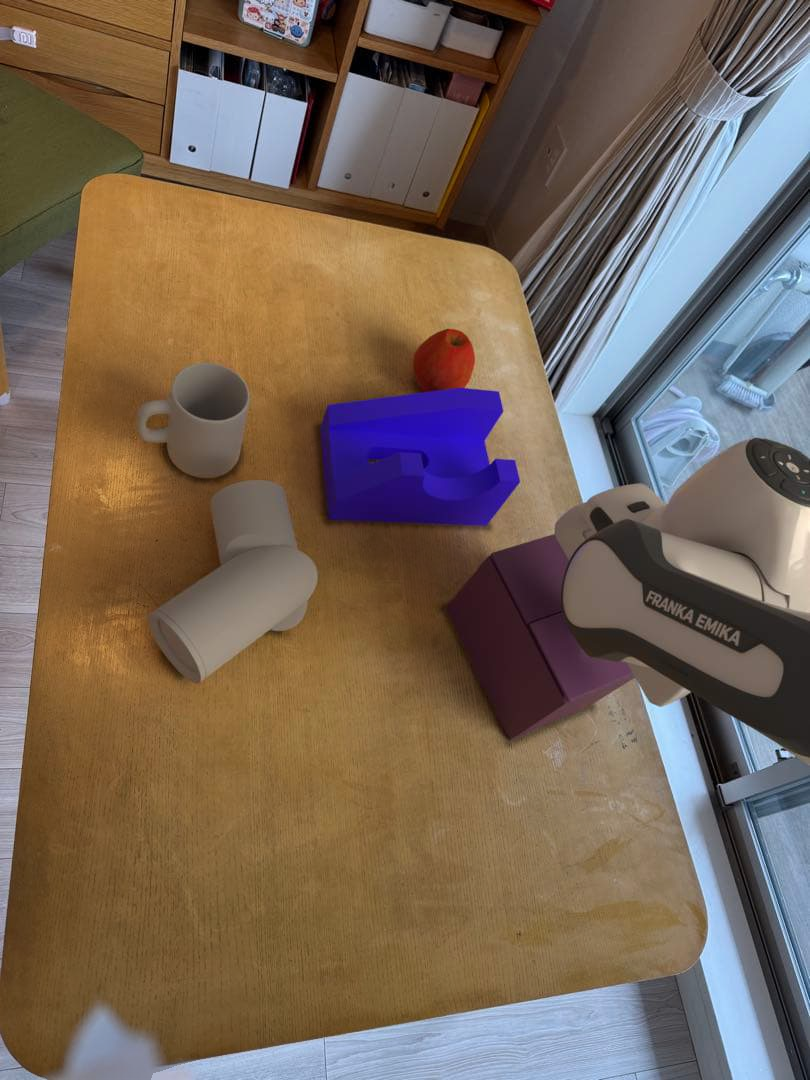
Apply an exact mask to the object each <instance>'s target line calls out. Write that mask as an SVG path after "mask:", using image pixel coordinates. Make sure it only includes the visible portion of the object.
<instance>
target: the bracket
mask: <svg viewBox="0 0 810 1080" xmlns="http://www.w3.org/2000/svg"><path fill="white" fill-rule="evenodd" d="M503 413H504V406H503V403H502V399H501V395H500V391H497V390H489V389H479V388H468V387H465V388H454V389H447V390H439V391H431V392H424V391H423V392H417V393H416V392H415V393H409V394H401V395H393V396H387V397H379V398H371V399H363V400H362V399H361V400H355V401H347V402H339V403H332V404H327V406H326V409H325V412H324V415H323V417H322V421H321V424H320V427H319V435H320V445H321V456H322V467H323V477H324V486H325V497H326V507H327V517H328V521H349V522H351V521H352V522H375V523H376V522H380V523H402V524H403V523H406V524H427V525H429V524H430V525H431V524H432V525H456V526H457V525H458V526H482V527H483V526H484V527H486V526H488V525H489V524H490V522H491V521H492V520H493V519H494V517H495V516H496V514H497V513H498V512H499V511H500V509H501V508H502V506H503V505H504V504H505V502H506V501H507V500H508V499H509V497H510V496H511V495H512V494H513V492H514V491H515V490H516V488H517V487H518V486H519V485H520V483H521V478H520V475H519V471H518V466H517V462H516V460H515V459H507V458H494V459H493V461H492V462H491V463H490V460H489V455H488V449H487V445H486V440H487V438H488V437H489V435H490V433H491V432H492V430H493V429H494V428H495V426H496V424H497V422H499V419H500V417H501V416H502V415H503ZM369 460H376V461H374V462H370V461H369Z"/></svg>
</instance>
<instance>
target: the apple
mask: <svg viewBox="0 0 810 1080" xmlns="http://www.w3.org/2000/svg"><path fill="white" fill-rule="evenodd" d="M412 362H413V363H412V367H413V371H414V375H415V378H416V381H417V383H418V385H419V387H420V388H421V390H422V391H423V393H424V392H431V391H439V390H447V389H454V388H466V386H467V385H468V383H469V382H470V380H471V378H472V374H473V373H474V372H473V371H474V367H475V363H476V355H475V350H474V346H473V343H472V341H471V340H470V338H469V337H468V336H467V335H466V334H465V333H464V332H463V331H461V330H458V329H455V328H445V329H443V330H440V331H436V333H433V334H432V335H430V336H428V338H427V339H425V340H424V341H423V342H422V343H420V345H419V347H417V349H416V352H415V353H414V355H413V361H412Z"/></svg>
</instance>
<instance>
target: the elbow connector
mask: <svg viewBox="0 0 810 1080" xmlns="http://www.w3.org/2000/svg"><path fill="white" fill-rule="evenodd" d="M209 509H210V514H211V519H212V524H213V531H214V536H215V540H216V542H215V543H216V547H217V552H218V558H219V563H220V564H219V565H220V566H219V567H217V568H216V569H214V570H213V571H211V572H210V573H208V574H207V575H205V576H204V577H202V578H201V579H199V580H198V581H196V582H195V583H193V584H191V585H190V586H189V587H187V588H185V589H184V590H183V591H181V592H179V593H178V594H177V595H175V596H174V597H172V598H171V599H169V600H168V601H166V602H165V603H163V604H161V605H160V606H158V607H157V608H155V610H153V611H151V612H150V613H148V614H147V617H146V621H147V625H148V628H149V630H150V633H151V635H152V637H153V638H154V641H155V643H156V644H157V646H158V647H159V649H160V650H161V652H162V653H163V654H164V656H165V657H166V659H167V660H168V662H170V664H171V665H172V666H173V667H174V668H175V669H176V670H177V672H179V673H180V674H181V675H182V676H183V677H185V678H186V679H187V680H188V681H190V682H192V683H194V684H200V683H201V682H202V681H203V680H205V679H207V678H208V677H209V676H210V675H212V674H213V673H215V672H216V671H218V669H220V668H221V667H223V666H224V665H225V664H227V663H228V662H229V661H231V660H232V659H233V658H234V657H236V656H237V655H238V654H239V653H241V652H242V651H244V650H245V649H246V648H248V647H249V646H250V645H252V644H253V643H254V642H256V641H257V640H258V639H259V638H261V637H262V636H263V635H265V634H266V633H267V632H268V631H274V632H282V631H289V630H291V629H293V628H295V627H297V625H299V624H300V622H302V620H303V619H304V616H305V614H306V612H307V610H308V609H307V608H308V602H309V599H310V598H311V596H312V595H313V593H314V592H315V590H316V587H317V585H318V580H319V579H318V570H317V566H316V564H315V562H314V561H313V560H312V558H311V557H310V556H309V555H307V554H306V553H305V552H303V551H301V550H300V549H299V547H298V543H297V540H296V535H295V531H294V525H293V522H292V518H291V517H292V516H291V513H290V508H289V504H288V499H287V495H286V492H285V489H284V488H283V487H282V486H281V485H280V484H278V483H276V482H273V481H271V480H264V479H249V480H243V481H238V482H236V483H232V484H230V485H227V486H225V487H223V488H221V489H220V490H219V491H217V492H216V493H214V495H213V496H212V498H211V499H210V502H209Z"/></svg>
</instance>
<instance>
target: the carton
mask: <svg viewBox="0 0 810 1080" xmlns="http://www.w3.org/2000/svg"><path fill="white" fill-rule="evenodd" d="M568 563H569V560H568V558H567V556H566V555H565V553H564V551H563V549H562V548H561V546H560V544H559V542H558V541H557V539H556V537H555V533H553V534H550V535H547V536H543V537H539V538H536V539H533V540H530V541H527V542H523V543H520V544H516V545H513V546H510V547H507V548H503V549H501V550H500V549H499V550H497V551H493V552H491V553H490V555H488V556H486V558H484V560H483V561H482V562H481V564H480V565H479V566H478V567H477V569H476V570H475V571H474V572H473V573H472V574H471V576H470V577H469V578H468V579H467V581H466V582H465V583H464V584H463V586H462V587H461V588H460V589H459V590H458V592H457V593H456V594H455V595H454V597H453V598H452V599H451V600H450V602H449V603H448V604H447V605H446V607H444V610H445V611H446V613H447V615H448V617H449V619H450V621H451V623H452V625H453V627H454V629H455V631H456V633H457V636H458V637H459V640H460V642H461V644H462V646H463V648H464V650H465V652H466V654H467V657H468V659H469V660H470V662H471V664H472V666H473V668H474V670H475V672H476V674H477V676H478V679H479V681H480V683H481V685H482V687H483V690H484V691H485V693H486V695H487V697H488V698H489V701H490V704H491V705H492V707H493V709H494V711H495V713H496V715H497V717H498V719H499V721H500V724H501V726H502V728H503V730H504V732H505V734H506V736H507V738H508V740H509V741H512V740H515V739H517V738H519V737H521V736H522V737H523V736H524V735H526V734H528V733H531V732H533V731H535V730H537V729H540V728H542V727H545V726H547V725H549V724H550V723H554V722H556V721H558V720H560V719H562V718H565V717H567V716H569V715H573V714H574V713H577V712H578V711H581V710H583V709H585V708H588V707H590V706H592V705H594V704H596V703H597V702H598V701H600V700H601V699H603V698H605V697H606V696H608V695H610V694H611V693H613V692H614V691H616V690H617V689H620V688H621V687H623V686H624V685H626V684H627V683H630V682H631V681H632V680H633V679H636V678H635V676H634V674H631V675H629V676H626V677H624V678H622V679H619V680H617V681H615V682H612V683H610V684H608V685H605V686H603V687H601V688H598V689H596V690H594V691H591V692H589V693H586V694H584V695H582V696H579V697H577V698H575V699H572V700H570V701H567V699H566V697H565V695H564V693H563V691H562V689H561V687H560V685H559V683H558V681H557V679H556V677H555V675H554V673H553V671H552V669H551V667H550V665H549V663H548V661H547V659H546V657H545V655H544V653H543V651H542V649H541V648H540V646H539V644H538V642H537V640H536V638H535V636H534V634H533V632H532V630H531V629H530V627H529V625H528V624H530V623H533V622H536V621H539V620H542V619H545V618H547V617H550V616H553V615H556V614H559V613H561V612H563V611H562V606H561V588H562V582H563V577H564V573H565V570H566V567H567V565H568Z"/></svg>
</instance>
